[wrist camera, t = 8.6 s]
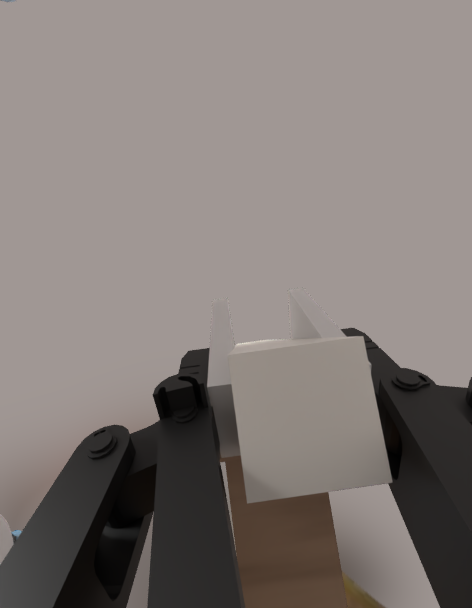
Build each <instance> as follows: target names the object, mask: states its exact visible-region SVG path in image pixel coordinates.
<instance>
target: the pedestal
mask: <svg viewBox="0 0 472 608" xmlns="http://www.w3.org/2000/svg"><path fill="white" fill-rule="evenodd" d="M220 462H225V463H226V470H227V471H226V472H227V480H228V488H229V496H230V504H231V512H232V521H233V528H234V537H235V545H236V553H237V561H238V568H239V573H240V579H241V585H242V591H243V597H244V602H245V608H348V607H347V601H346V595H345V589H344V583H343V577H342V571H341V565H340V559H339V553H338V547H337V542H336V536H335V530H334V524H333V518H332V512H331V506H330V501H329V494H328V492H324V493H317V494H310V495H303V496H296V497H289V498H282V499H275V500H268V501H261V502H255V503H248V504H247V498H246V491H245V483H244V476H243V468H242V460H241V455H240V456H233V457H225V458H221V454H220Z"/></svg>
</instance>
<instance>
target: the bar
mask: <svg viewBox="0 0 472 608" xmlns="http://www.w3.org/2000/svg"><path fill="white" fill-rule="evenodd" d="M228 362H229V369H230V377H231V385H232V392H233V400H234V407H235V415H236V422H237V430H238V438H239V445H240V453H241V460H242V468H243V476H244V483H245V491H246V498H247V504H248V503H255V502H261V501H268V500H275V499H282V498H289V497H296V496H303V495H310V494H317V493H324V492H331V491H338V490H345V489H352V488H359V487H366V486H373V485H380V484H387V483H393V482H392V477H391V472H390V467H389V462H388V457H387V452H386V447H385V442H384V437H383V432H382V427H381V422H380V417H379V412H378V407H377V402H376V397H375V392H374V387H373V382H372V377H371V372H370V367H369V362H368V357H367V352H366V347H365V342H364V337H363V336H354V337H330V338H306V339H282V340H262V341H255V342H247V343H240V344H237V345H236V346H235V347H234V349H233V350H232V351H231V352H230V353H229V354H228Z"/></svg>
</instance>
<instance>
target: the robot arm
mask: <svg viewBox="0 0 472 608" xmlns="http://www.w3.org/2000/svg"><path fill="white" fill-rule="evenodd" d="M2 1H6V2H14V1H16V0H2ZM288 299H289V300H288V301H289V320H290V338H291V339H306V338H330V337H354V336H363V337H364V342H365V347H366V352H367V357H368V362H369V367H370V372H371V377H372V382H373V387H374V392H375V397H376V402H377V407H378V412H379V417H380V422H381V427H382V432H383V437H384V442H385V447H386V452H387V457H388V462H389V467H390V472H391V477H392V482H393V483H388V484H389V486H390V489H391V491H392V494H393V496H394V498H395V501H396V503H397V505H398V507H399V510H400V512H401V515H402V517H403V520H404V522H405V525H406V527H407V529H408V531H409V534H410V536H411V539H412V541H413V544H414V546H415V548H416V551H417V553H418V555H419V558H420V560H421V563H422V565H423V567H424V570H425V572H426V575H427V577H428V579H429V582H430V584H431V586H432V589H433V591H434V593H435V596H436V598H437V601H438V603H439V605H440V608H472V377H471V380H470V382H469V386H468V388H461V387H449V386H439V385H436V384H435V383H434V381H432V380H431V379H430V378H429V377H427V376H426V375H424V374H422V373H419V372H418V371H415V370H411V369H407V368H400V367H399V366H398V365H397V364H396V363H395V362H394V361H393V360H392V359H391V358H390V357H389V356H388V355H387V354H386V353H385V352H384V351H383V350H381V348H379V347H378V346H377V345H376V344H375V343H374V342H372V340H371V339H370V338H369V337H368V336H367V335H366V334H365V333H363V332H361V331H359V330H357V329H355V328H348V329H339V327H338V326H337V325H336V324H335V323H334V322H333V321H332V320H331V319H330V317H329V316H328V315H327V314H326V313H325V312H324V311H323V309H322V308H321V307H320V306H319V305H318V304H317V303H316V302H315V301H314V300H313V298H312V297H311V296H310V295H309V294H308V293H307V291H306V290H305V289H304V288H297V289H289V290H288ZM234 347H235V344H234V337H233V331H232V323H231V316H230V309H229V302H228V298H222V299H215V300H213V303H212V318H211V335H210V348H207V349H200V350H192V351H188V352H187V354H186V355H185V356H184V357H183V358H182V360H181V365H180V369H179V373H178V374H177V375H174V376H171V377H169V378H167V379H165V380H164V381H162V382H161V383H160V384H159V385H158V386H157V387H156V388H155V390H154V393H153V397H154V401H155V404H156V407H157V410H158V414H159V417H160V420H159V421H158V422H156V423H155V424H153V425H151V426H149V427H147V428H144V429H142V430H140V431H137V432H134V433H132V434H129V431H128V429H126V428H125V427H123V426H119V425H111V426H107V427H103V428H101V429H99V430H97V431H95V432H93V433H92V434H90V435H89V436H88V437H86V438H85V439H84V440H83V441H82V442H81V444H80V445H79V446H78V447H77V448H76V450H75V451H74V453H73V454H72V456H71V458H70V459H69V461H68V462H67V464H66V465H65V467H64V468H63V470H62V472H61V473H60V474H59V476H58V477H57V479H56V480H55V482H54V484H53V485H52V487H51V488H50V490H49V492H48V493H47V494H46V496H45V497H44V499H43V500H42V502H41V503H40V505H39V506H38V508H37V509H36V511H35V513H34V514H33V516H32V517H31V519H30V520H29V522H28V523H27V525H26V526H25V528H24V529H23V531H20V530H15V531H14V532H11V530H10V527H9V525H8V522H7V521H6V520H5V518H4V517H3V516H2V515H1V514H0V608H126V606H127V603H128V599H129V595H130V592H131V588H132V585H133V581H134V578H135V574H136V571H137V568H138V564H139V561H140V557H141V554H142V550H143V547H144V543H145V539H146V536H147V533H148V529H149V526H150V522H151V519H152V515H153V511H154V517H153V532H152V533H153V534H152V547H151V562H150V577H149V593H148V608H245V602H244V597H243V591H242V585H241V579H240V573H239V568H238V562H237V556H236V550H235V545H234V539H233V533H232V527H231V521H230V516H229V510H228V504H227V499H226V493H225V487H224V481H223V476H222V470H221V465H220V454H221V458H225V457H233V456H240V455H241V453H240V445H239V438H238V430H237V422H236V415H235V407H234V400H233V392H232V385H231V377H230V369H229V362H228V354H229V353H230V352H231V351H232V350H233V349H234Z"/></svg>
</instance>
